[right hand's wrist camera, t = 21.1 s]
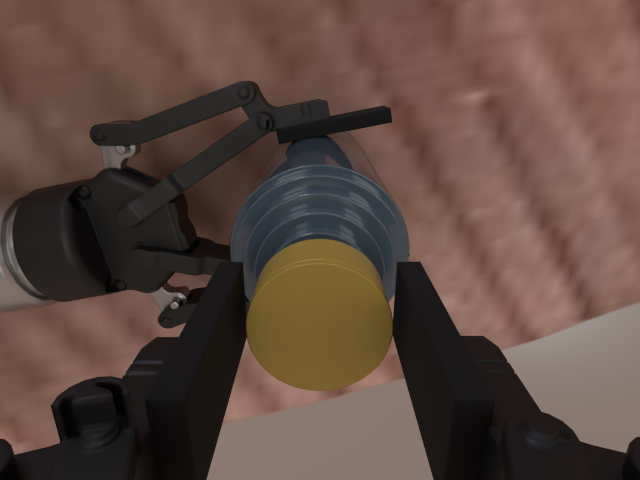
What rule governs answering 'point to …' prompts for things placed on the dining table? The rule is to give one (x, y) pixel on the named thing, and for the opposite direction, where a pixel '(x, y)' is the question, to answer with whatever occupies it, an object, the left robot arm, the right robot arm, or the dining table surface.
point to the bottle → (320, 208)
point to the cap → (319, 316)
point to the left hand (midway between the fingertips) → (396, 181)
